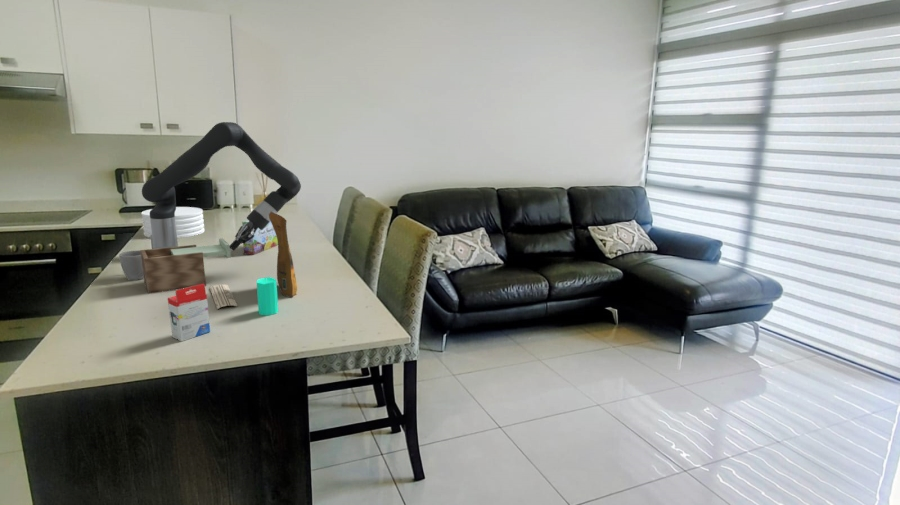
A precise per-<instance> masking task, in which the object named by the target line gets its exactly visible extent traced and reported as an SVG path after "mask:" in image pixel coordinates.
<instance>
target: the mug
mask: <svg viewBox="0 0 900 505" xmlns="http://www.w3.org/2000/svg"><path fill="white" fill-rule="evenodd" d="M140 250H141V249H140ZM140 250H128V251H124V252H123V251H122V252H121V253H119V254H118V255H119V256H118V257H119V258H118V259H119V262H120V266H121V269H122V272H123V274H124V275H125V276H126V278H127V279H129V280H128V281H139V280H138V279H140V280H144V275H143V267H142V259H141V251H140Z"/></svg>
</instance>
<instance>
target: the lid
mask: <svg viewBox="0 0 900 505" xmlns="http://www.w3.org/2000/svg"><path fill="white" fill-rule="evenodd" d="M218 242H219V243H218V244H212V245H211V244H210V245H203V246H202V245H201V246H196V247H190V248H180V249H170V250H171V255H180V254H190V253H199V252H203V259H204V258H210V257H221V256H224V257H225V258H226V259H230V258H231V249H230V245H231V244H230V243H228V242H227V241H226V240H225V239H224V238H223V237H221V238H220V237H219V238H218Z"/></svg>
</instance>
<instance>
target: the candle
mask: <svg viewBox="0 0 900 505" xmlns="http://www.w3.org/2000/svg"><path fill="white" fill-rule="evenodd" d="M277 284H278V281H277V278H276V279H275V278H274V277H271V276H267V275H265V277H263V278H258V279H257V280H256V292H257V309H258V314H259V315H261V316H272V315H276V314H277V313H279V303H278V302H279V301H278V286H277Z"/></svg>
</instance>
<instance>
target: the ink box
mask: <svg viewBox="0 0 900 505" xmlns="http://www.w3.org/2000/svg"><path fill="white" fill-rule="evenodd" d="M205 286H206V285H205V284H200V285H196V286H191V287H187V288H184V289H177V290H174V291H175V295H174V296H170V297H167V303H168V310H169V312H168V313H169V320H170V329H171V336H172V338H174V339H175V340H177V339H178V340H177V341H179V342H184V341H187V340H190V339H193V338H196V337H199V336H202V334H203V335H205V333H206V334H208V332H209V333H211V327H210V317H209V316H210V315H209V304H208V295H207V293H206V287H205Z"/></svg>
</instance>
